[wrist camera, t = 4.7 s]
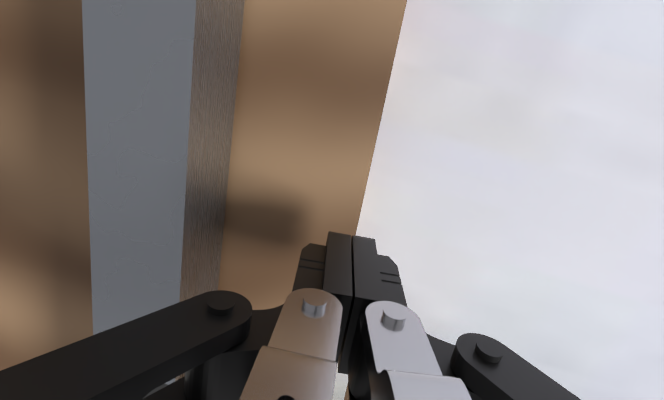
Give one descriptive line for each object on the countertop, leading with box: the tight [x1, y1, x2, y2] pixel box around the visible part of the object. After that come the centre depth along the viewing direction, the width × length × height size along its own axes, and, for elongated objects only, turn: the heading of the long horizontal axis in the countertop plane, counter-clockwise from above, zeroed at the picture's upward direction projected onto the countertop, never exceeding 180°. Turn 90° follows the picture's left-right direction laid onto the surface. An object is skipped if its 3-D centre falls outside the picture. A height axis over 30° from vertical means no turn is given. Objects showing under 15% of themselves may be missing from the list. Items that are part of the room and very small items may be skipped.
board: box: [0, 0, 407, 371], centre depth 13 cm, size 32×24×2 cm
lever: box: [82, 0, 245, 398], centre depth 10 cm, size 28×4×5 cm, turn 170°
